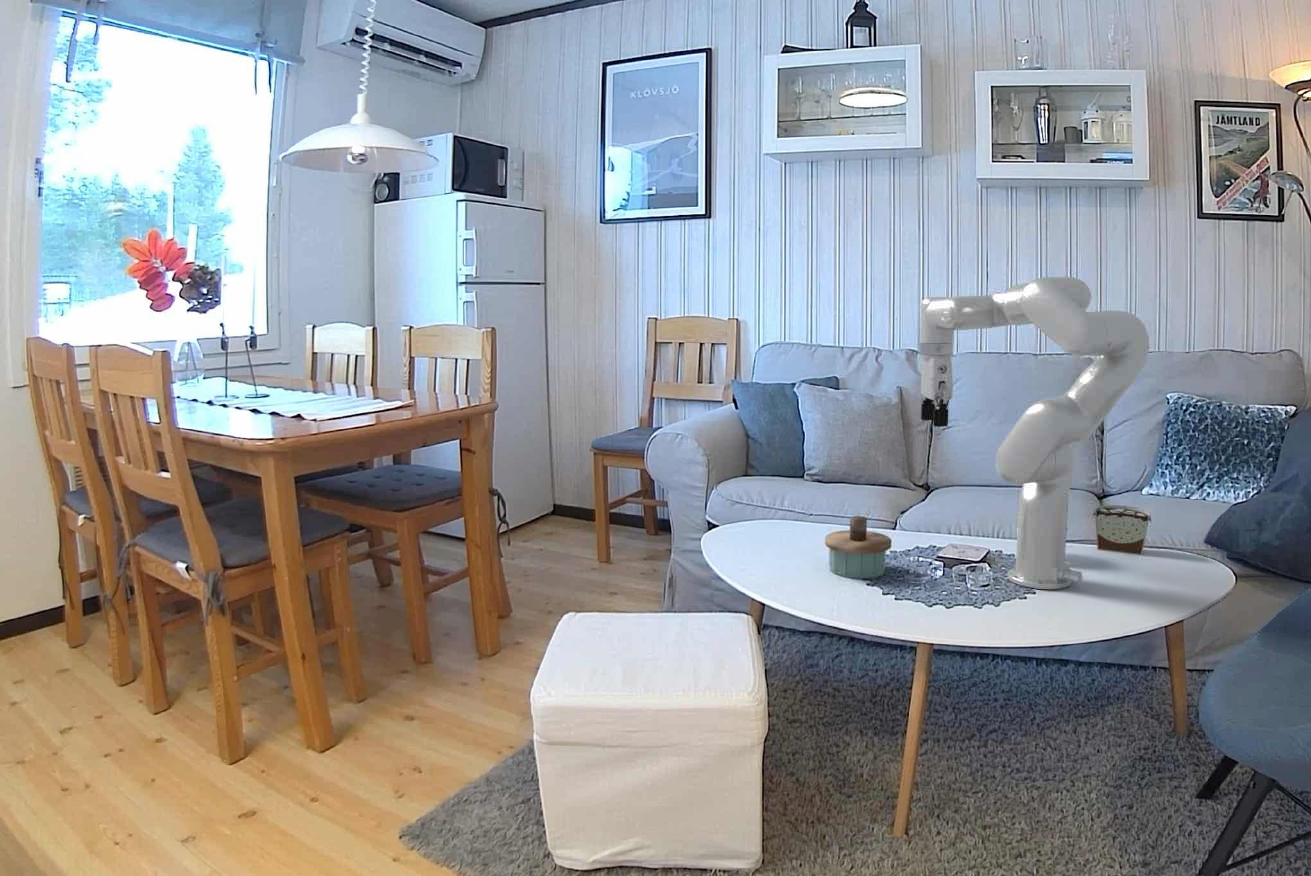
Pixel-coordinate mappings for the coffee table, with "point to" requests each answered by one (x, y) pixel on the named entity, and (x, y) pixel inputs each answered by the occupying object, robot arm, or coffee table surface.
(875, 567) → the bowl
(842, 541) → the lid
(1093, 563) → the coffee table surface
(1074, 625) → the coffee table surface
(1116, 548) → the food container
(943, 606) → the coffee table surface
